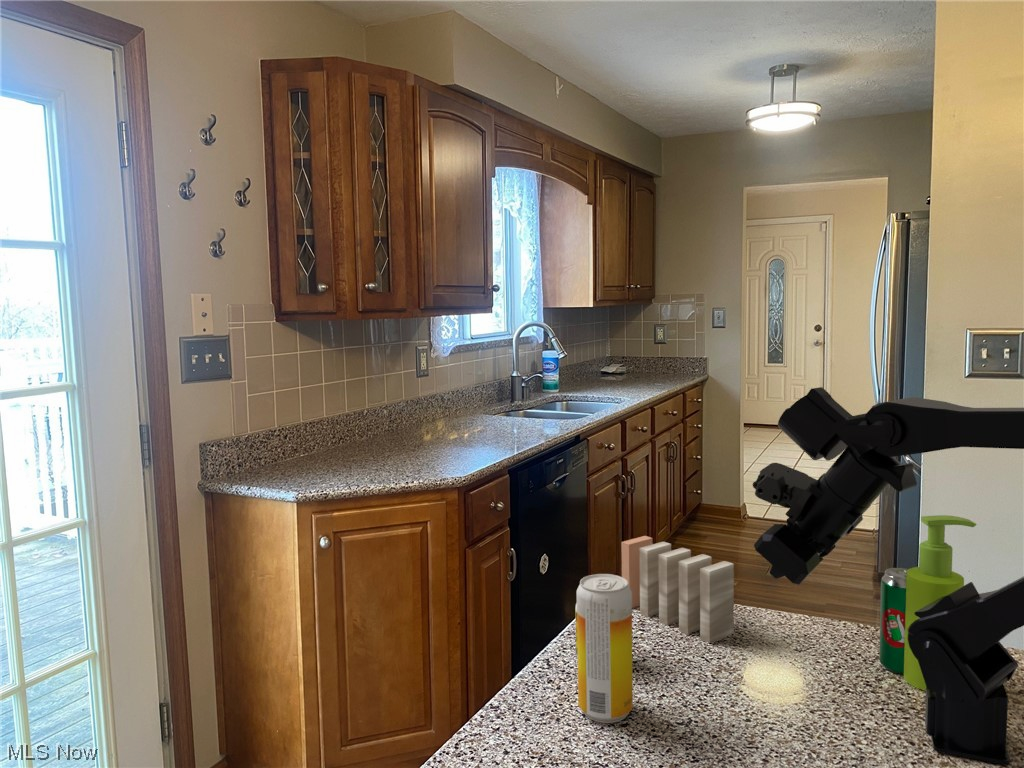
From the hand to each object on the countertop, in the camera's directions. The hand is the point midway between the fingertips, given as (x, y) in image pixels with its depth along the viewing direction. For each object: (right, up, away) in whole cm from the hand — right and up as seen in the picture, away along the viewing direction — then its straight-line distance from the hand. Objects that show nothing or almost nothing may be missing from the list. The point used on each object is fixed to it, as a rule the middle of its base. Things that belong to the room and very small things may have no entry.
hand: (773, 574), depth 93 cm
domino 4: (-7, -11, +13) cm, 18 cm away
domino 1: (-13, -10, +22) cm, 27 cm away
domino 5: (-5, -11, +10) cm, 15 cm away
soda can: (+16, -12, 0) cm, 19 cm away
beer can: (-22, -13, -9) cm, 27 cm away
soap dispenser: (+18, -12, -4) cm, 22 cm away
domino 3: (-9, -10, +16) cm, 21 cm away
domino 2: (-11, -10, +19) cm, 24 cm away
